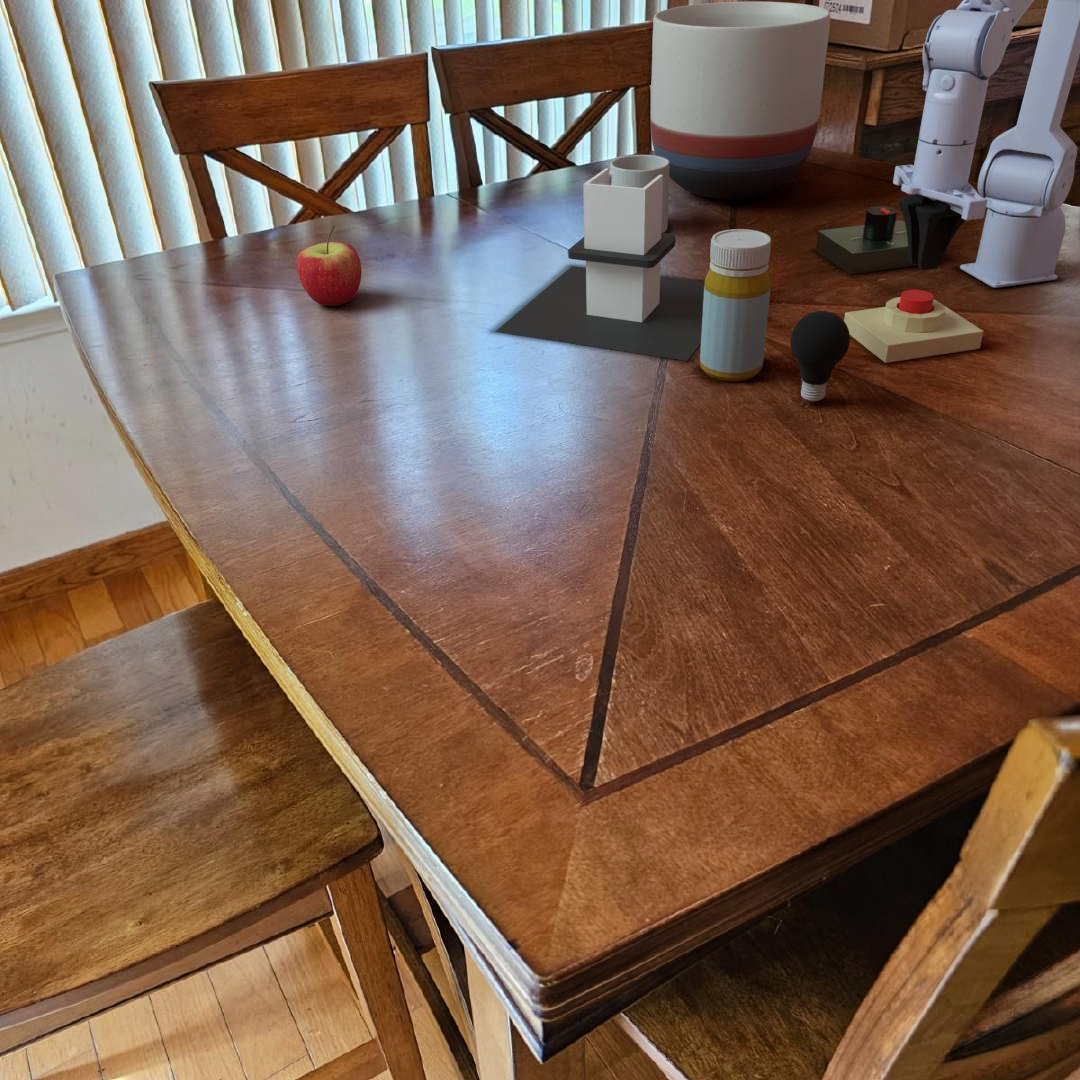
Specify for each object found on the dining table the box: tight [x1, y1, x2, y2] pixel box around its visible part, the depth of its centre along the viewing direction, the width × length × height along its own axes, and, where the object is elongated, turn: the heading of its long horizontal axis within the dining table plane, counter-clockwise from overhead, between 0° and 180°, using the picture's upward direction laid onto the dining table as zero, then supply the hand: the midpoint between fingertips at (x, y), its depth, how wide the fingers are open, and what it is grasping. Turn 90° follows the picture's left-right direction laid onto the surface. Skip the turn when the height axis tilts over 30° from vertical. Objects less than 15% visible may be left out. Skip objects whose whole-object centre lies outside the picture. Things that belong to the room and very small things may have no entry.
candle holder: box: [495, 167, 705, 362], centre depth 123 cm, size 25×24×16 cm
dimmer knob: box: [863, 205, 898, 240], centre depth 136 cm, size 4×4×4 cm
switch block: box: [843, 296, 984, 364], centre depth 115 cm, size 12×10×4 cm
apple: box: [296, 225, 362, 307], centre depth 130 cm, size 8×8×10 cm
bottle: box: [699, 228, 772, 382], centre depth 107 cm, size 7×7×15 cm
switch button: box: [899, 289, 935, 314], centre depth 114 cm, size 4×4×2 cm
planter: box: [649, 1, 831, 201], centre depth 159 cm, size 27×27×27 cm
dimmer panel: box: [815, 219, 918, 276], centre depth 138 cm, size 13×10×3 cm
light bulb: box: [789, 310, 851, 404], centre depth 102 cm, size 6×6×10 cm
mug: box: [609, 154, 670, 233], centre depth 150 cm, size 11×10×10 cm
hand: (923, 265), depth 111 cm, fingers closed
